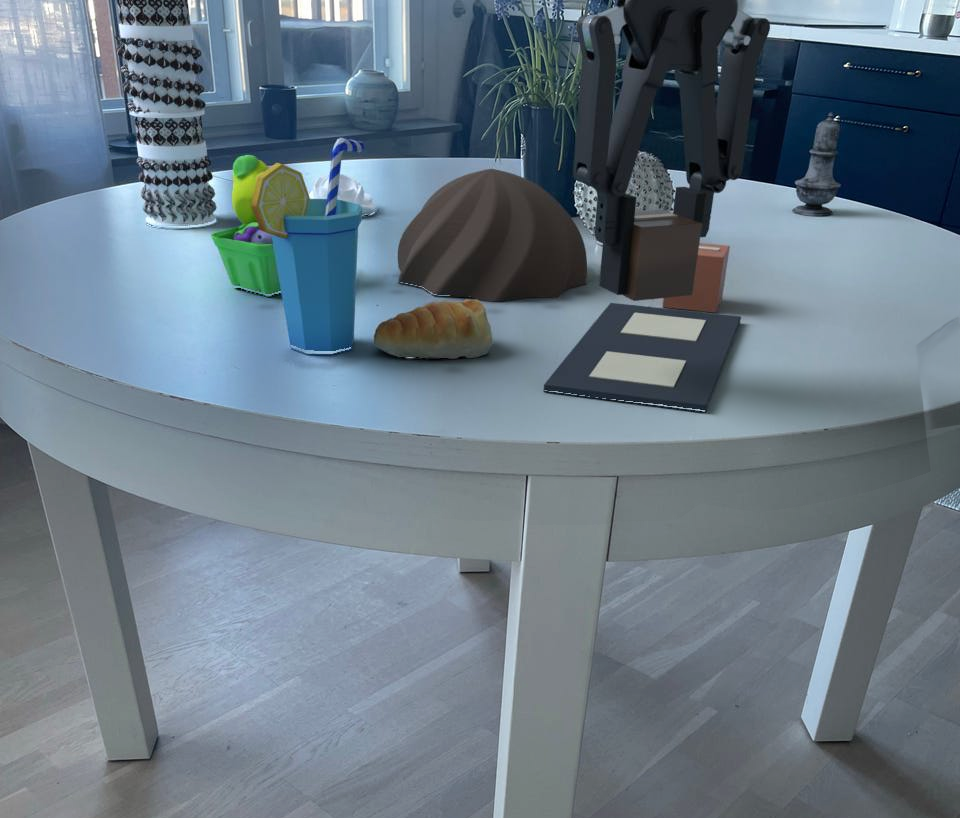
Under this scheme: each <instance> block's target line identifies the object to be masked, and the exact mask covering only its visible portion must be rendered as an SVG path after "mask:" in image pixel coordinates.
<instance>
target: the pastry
mask: <svg viewBox="0 0 960 818" xmlns="http://www.w3.org/2000/svg"><path fill="white" fill-rule="evenodd" d="M487 315H488V314H487V311H486V307H485V306H484V305H483V303H482V301H480V299H476V298H474V299H469V298H466V299H464V300H463V301H447V300H446V301H444V300H443V301H432V302H429V303H426V304H424V305H423V306H417V307H415V308H414V309H412V310H410V311H406V312H401V313H400V312H399V313H398V314H397V315H396V316H394V317H393V318H392V317H390V318H388V319H386V320H384V321H382V322H380V323H379V324H378V326H377V327H375V330H374V331H375V332H374V334H373V345H374V346H375V347H376V348H378V349H380V350H381V351H383V352H385V353H387V354H389V355H392V356H395V357H397V358H399V357H414V358H405V359H406V360H414V359H417V358H416V357H419V358H418V359H422V358H430V359H440V358H449V359H448V360H452V359H453V360H454V359H455V360H456V359H458V358H459V357H465V358H466V359H471V358H472V359H473V358H479V357H481V356H484V355H487V354H489V351H490V349H491V348H492V346H493V344H494V340H493V333H492V327H491V324H490V322H489V320H488V319H489V318H488V316H487ZM475 356H476V357H475ZM399 359H401V358H399ZM426 360H429V359H426Z"/></svg>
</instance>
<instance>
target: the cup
mask: <svg viewBox="0 0 960 818" xmlns="http://www.w3.org/2000/svg"><path fill="white" fill-rule="evenodd" d="M364 149H365V145H364V143H363V142H362V141H360V140H355V139H350V138H344V137H339V138H337V139H336V141H335V143H334V144H333V148H332V150H331V157H330V166H329V174H328V175H329V184H328V194H327V199H310V197H309V194H310V193H309V191H308V188H307V186H306V183H305V179H304V176H303V173H302V172H301V171H298V170H297V169H295V168H292V167H290V166H287V165H285V164H282V163H279V162H275V163H274V164H273V165H272V166H270V167H268V168H269V169H267V170H266V171H265V172H263V173H262V174H261V175H259V176H258V177H257V181H256V186H255V190H254V194H253V198H252V203H251V207H252V209H253V212H254V215H255V217H256V220H257V222H258V225H259V228H260V230H261V231H264V232H267V233H269V234H271V235H272V241H273V246H274V252H275V258H276V264H277V270H278V276H279V282H280V287H281V298H282V305H283V311H284V317H285V322H286V323H285V324H286V328H287V333H288V334H287V335H288V339H289V346H290V345H293V346H296V347H298V348H301V349H304V350H314V351H336V350H339V349H344V348H345V349H346V348H349V347H352V348H351V349H349V350H345V351H341V352H337V353H334V354H306V353H303V352H301V351H298V350H295V349H293V348H291V347H290V349H291V350H293V351H296V352H299V353H301V354H304V355H307V356H308V355H309V356H334V355H337V354H341V353H346V352H349V351H352V349H353V346H354V343H355V321H356V320H355V318H356V295H357V294H356V291H357V270H358V269H357V266H358V244H359V243H358V238H359V227H360V225H361V222H362V218H363V217H362V206H361V205H359V204H355V203H351V202H347V201H342V200H338V199H337V196H338V187H339V178H340V174H341V167H342V160H343V158H342V157H343V154H344V152H350V153H351V152H353V153H362V152H363V151H364ZM353 341H354V342H353ZM352 344H353V345H352Z"/></svg>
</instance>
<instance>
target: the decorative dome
mask: <svg viewBox="0 0 960 818" xmlns="http://www.w3.org/2000/svg"><path fill="white" fill-rule="evenodd" d="M587 258H588V257H587V250H586V245H585V243H584V239H583V237H582V234H581V232H580V230H579V228H578V226H577V224H576V223H575V221H574V220H573V218H572V216H571V215H570V214H569V213H568V211H567V209H565V208H564V207H563V206H562V204H561V203H560V202H559V201H557V199H555V197H554V196H552V195H551V194H550V193H549V192H548V191H547V190H546V189H544V188H543V187H541V186H540V185H538V184H536V183H535V182H534V181H531V180H529V179H528V178H525V177H523V176H520V175H517V174H515V173H511V172H509V171H504V170H500V169H495V168H487V169H481V170H478V171H474V172H471V173H467V174H464V175H462V176H459V177H457V178H455V179H453V180H451V181H448V182H447V183H446V184H444V185H443V186H441V187H440V188H438V189H437V190H436V191H435V192H434V193H433V194H432V195H431V196H430V197H429V198H428V199H427V200H426V202H425V203H424V205H423V206H422V208H421V210H420V211H419V212H418V213H417V214H416V215H415V216H414V217H413V218H412V220H411V221H410V223H409V224H408V225H407V227H406V228H405V229H404V231H403V233H402V234H401V236H400V239H399V242H398V247H397V266H398V269H399V268H400V269H401V270H402V271H401V270H400V269H399V270H400V274H399V277H398V279H397V283H398V284H401V285H405V286H410V287H415V288H419V289H422V290H424V291H425V292H427V293H428V294H430V295H432V296H434V297H438V296H437V295H450V296H440V297H443V298H444V297H447V298H448V297H449V298H471V299H478V300H481V301H482V300H483V301H488V302H494V303H495V302H496V303H498V302H500V303H501V302H506V301H512V300H517V299H518V300H519V299H522V298H523V299H524V298H556V297H559V296H561V294H563V292H564V291H565V290H567V289H571V288H575V287H580V286H585V285H586V284H587V278H588V277H587V276H588V259H587ZM398 281H399V282H398ZM400 282H403V283H400ZM404 283H408V284H404ZM409 284H413V285H417V286H413V285H409ZM418 286H422V287H424V288H425V289H427V290H428V291H430V292H432V293H433V294H437V295H433V294H431V293H430V292H428V291H427V290H425V289H424V288H422V287H418ZM469 296H470V297H469Z"/></svg>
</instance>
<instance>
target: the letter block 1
mask: <svg viewBox="0 0 960 818" xmlns="http://www.w3.org/2000/svg"><path fill="white" fill-rule="evenodd" d="M701 228H702V223H700V222H697V221H694V220H691V219H689V218H686V217H683V216H680V215H677V214H675V213H673V211H669V210H666V209H656V210H654V209H653V210H639V211H635V217H634V225H633V233H632V243H631V253H630V263H629V273H628V282H627V292H626V294H623V295H622V296H623V297H625V298H626V299H629V300H631V301H632V302H633V301H634V302H638V301H647V300H657V299H658V300H659V299H663V298H669V297H679V296H689V295H692V293H693V286H694V279H695V271H696V264H697V257H698V250H699V243H701V242H700V241H701V237H700V235H701Z"/></svg>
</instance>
